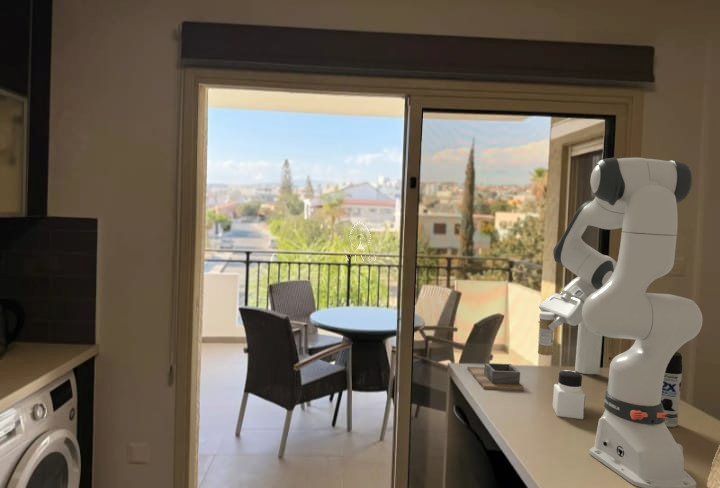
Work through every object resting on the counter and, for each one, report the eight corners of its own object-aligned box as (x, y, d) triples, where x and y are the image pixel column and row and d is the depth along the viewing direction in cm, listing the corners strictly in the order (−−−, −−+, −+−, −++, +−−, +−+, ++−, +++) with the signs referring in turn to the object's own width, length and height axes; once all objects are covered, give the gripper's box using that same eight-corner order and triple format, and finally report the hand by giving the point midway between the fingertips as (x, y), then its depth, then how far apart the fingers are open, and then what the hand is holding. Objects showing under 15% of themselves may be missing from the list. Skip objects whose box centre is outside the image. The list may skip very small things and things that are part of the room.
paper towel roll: (571, 370, 186) (575, 313, 185) (582, 368, 189) (587, 312, 187) (587, 376, 179) (592, 317, 178) (599, 374, 182) (603, 316, 181)
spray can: (650, 424, 139) (656, 353, 137) (649, 416, 145) (655, 347, 143) (678, 430, 136) (685, 357, 134) (676, 421, 142) (682, 351, 140)
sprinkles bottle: (542, 351, 164) (544, 310, 163) (555, 354, 161) (557, 313, 160) (534, 353, 161) (536, 312, 160) (547, 357, 158) (549, 314, 157)
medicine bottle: (583, 419, 140) (587, 377, 139) (556, 416, 141) (559, 374, 140) (578, 410, 147) (581, 369, 146) (552, 407, 148) (555, 367, 147)
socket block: (523, 390, 161) (524, 374, 161) (483, 388, 161) (484, 373, 160) (502, 370, 181) (503, 356, 181) (467, 369, 181) (468, 355, 180)
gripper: (553, 284, 171) (524, 312, 170) (587, 294, 151) (554, 326, 150) (564, 298, 172) (535, 325, 171) (600, 309, 151) (567, 341, 151)
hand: (544, 326), depth 160 cm, fingers closed on sprinkles bottle, 4 cm apart
